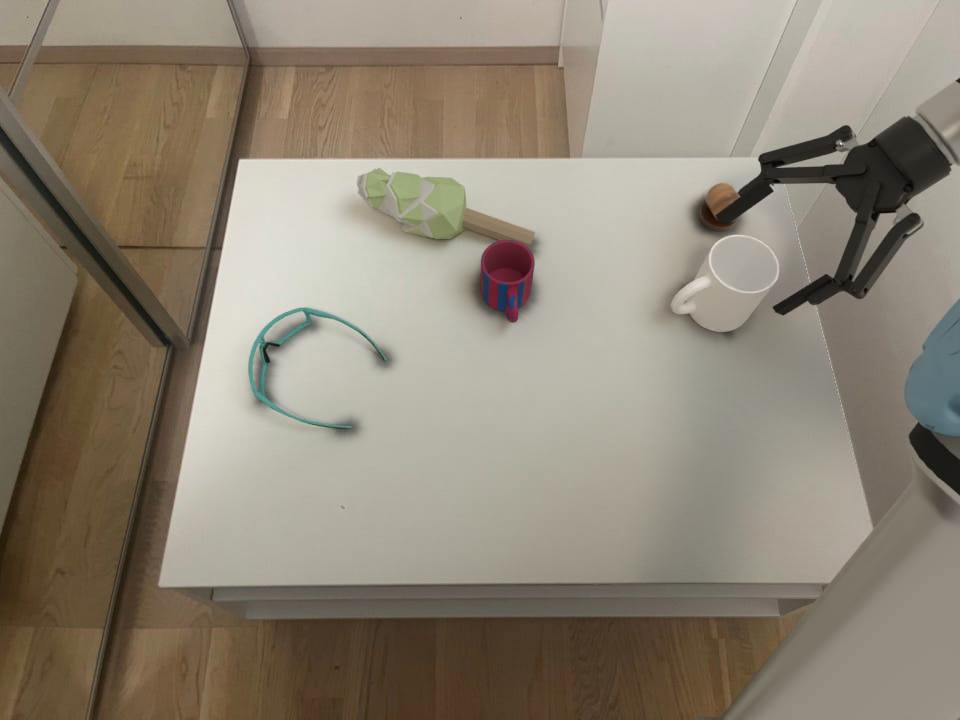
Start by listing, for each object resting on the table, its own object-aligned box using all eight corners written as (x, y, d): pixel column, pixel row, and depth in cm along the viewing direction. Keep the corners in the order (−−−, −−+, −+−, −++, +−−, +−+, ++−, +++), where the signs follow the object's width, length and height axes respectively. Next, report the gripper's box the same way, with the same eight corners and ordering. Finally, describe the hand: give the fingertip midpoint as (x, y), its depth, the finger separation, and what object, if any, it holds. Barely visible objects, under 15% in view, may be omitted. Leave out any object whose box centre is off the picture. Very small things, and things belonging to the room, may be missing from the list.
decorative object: (540, 207, 94) (370, 146, 92) (544, 216, 85) (356, 148, 83) (519, 266, 97) (354, 208, 95) (520, 280, 88) (338, 216, 86)
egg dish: (743, 227, 93) (757, 204, 89) (710, 237, 93) (722, 215, 88) (723, 196, 96) (736, 172, 91) (691, 205, 95) (702, 182, 90)
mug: (675, 350, 85) (699, 310, 76) (648, 296, 89) (668, 252, 79) (759, 324, 87) (792, 282, 77) (729, 272, 90) (758, 226, 81)
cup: (529, 268, 90) (533, 239, 84) (532, 334, 86) (536, 308, 80) (480, 268, 90) (480, 239, 84) (480, 334, 86) (480, 308, 80)
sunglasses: (291, 307, 88) (285, 289, 83) (394, 351, 87) (394, 335, 82) (235, 399, 82) (225, 384, 77) (344, 447, 81) (340, 435, 76)
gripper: (1015, 245, 66) (813, 356, 77) (871, 72, 76) (711, 194, 87) (1009, 227, 60) (793, 350, 71) (854, 43, 70) (686, 177, 81)
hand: (747, 264), depth 79 cm, fingers open, 13 cm apart
